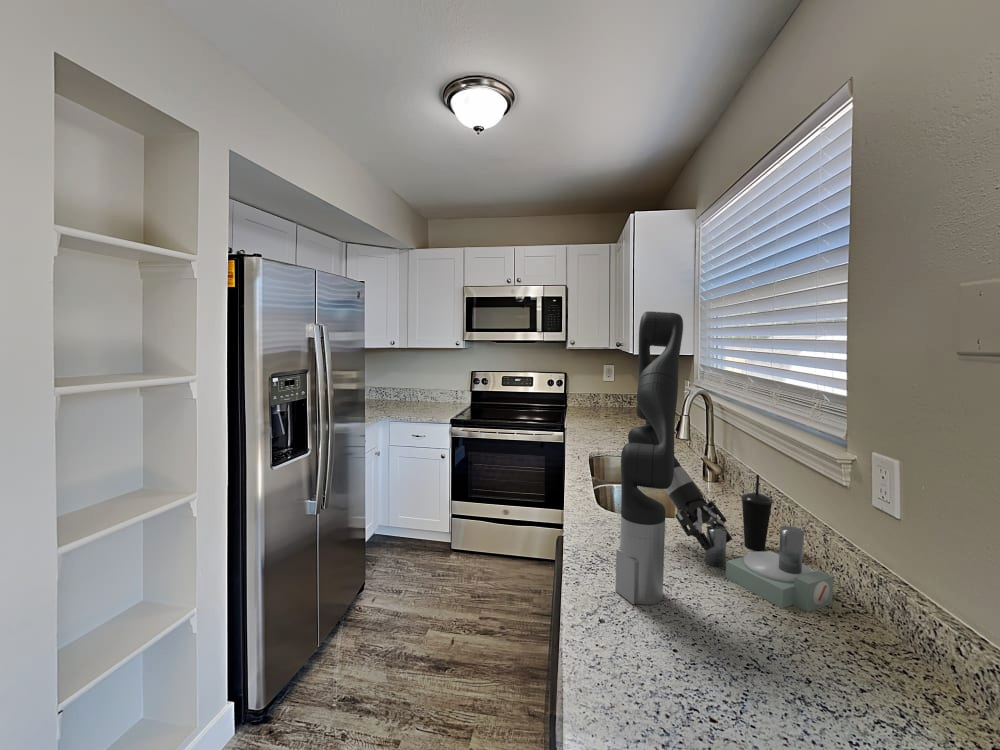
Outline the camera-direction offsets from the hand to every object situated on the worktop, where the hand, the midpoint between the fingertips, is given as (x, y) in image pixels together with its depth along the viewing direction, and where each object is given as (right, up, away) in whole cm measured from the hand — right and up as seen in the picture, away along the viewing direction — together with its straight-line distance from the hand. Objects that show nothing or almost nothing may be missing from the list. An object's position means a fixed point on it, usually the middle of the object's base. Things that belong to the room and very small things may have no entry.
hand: (719, 545), depth 116 cm
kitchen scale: (+9, -6, -11) cm, 15 cm away
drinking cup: (+15, -5, +11) cm, 19 cm away
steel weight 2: (+10, -1, -12) cm, 16 cm away
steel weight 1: (-1, -5, +1) cm, 5 cm away
